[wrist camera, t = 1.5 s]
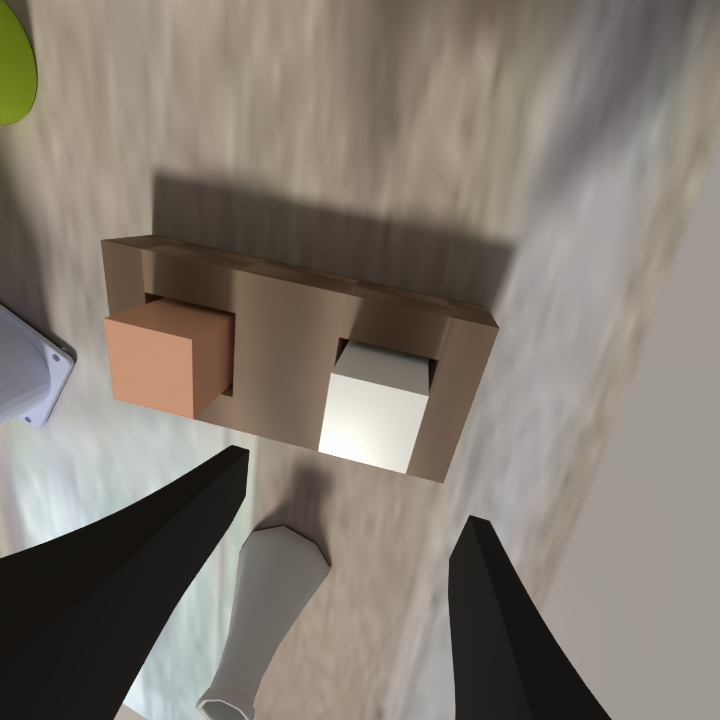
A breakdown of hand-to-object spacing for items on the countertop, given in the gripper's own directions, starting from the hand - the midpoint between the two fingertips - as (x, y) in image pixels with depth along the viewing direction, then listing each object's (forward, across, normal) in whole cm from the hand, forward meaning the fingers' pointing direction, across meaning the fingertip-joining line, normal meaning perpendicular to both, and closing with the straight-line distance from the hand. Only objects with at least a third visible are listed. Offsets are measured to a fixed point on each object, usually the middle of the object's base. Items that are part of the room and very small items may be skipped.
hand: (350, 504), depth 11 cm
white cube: (+9, 0, 0) cm, 9 cm away
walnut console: (+11, +5, 0) cm, 12 cm away
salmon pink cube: (+9, +10, 0) cm, 13 cm away
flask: (+11, +4, +19) cm, 22 cm away
